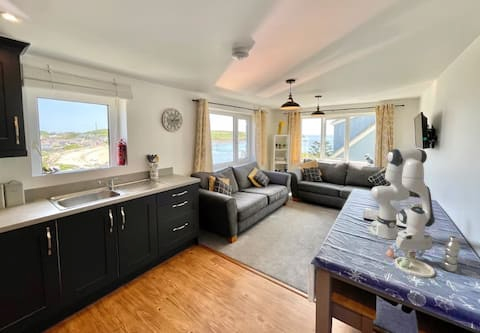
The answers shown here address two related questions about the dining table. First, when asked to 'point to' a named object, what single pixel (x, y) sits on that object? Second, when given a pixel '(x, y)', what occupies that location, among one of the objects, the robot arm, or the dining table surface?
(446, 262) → the silver metal bottle
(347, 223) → the dining table surface
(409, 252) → the bead
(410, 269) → the tray
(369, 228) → the robot arm
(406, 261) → the bead
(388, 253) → the bead
